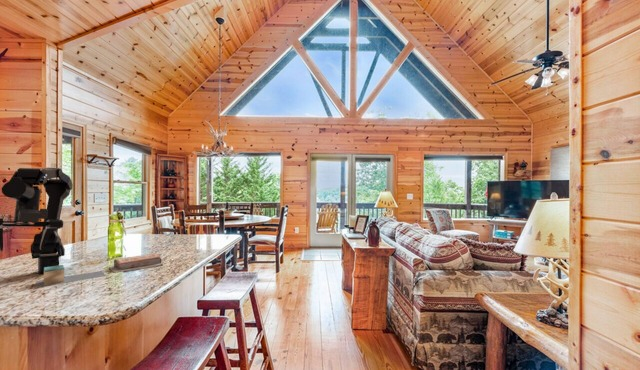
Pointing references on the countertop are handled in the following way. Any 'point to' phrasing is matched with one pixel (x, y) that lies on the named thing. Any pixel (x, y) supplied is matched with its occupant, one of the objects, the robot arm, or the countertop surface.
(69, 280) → the mat
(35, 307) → the countertop surface
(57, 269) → the block
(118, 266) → the reddish brown brick
